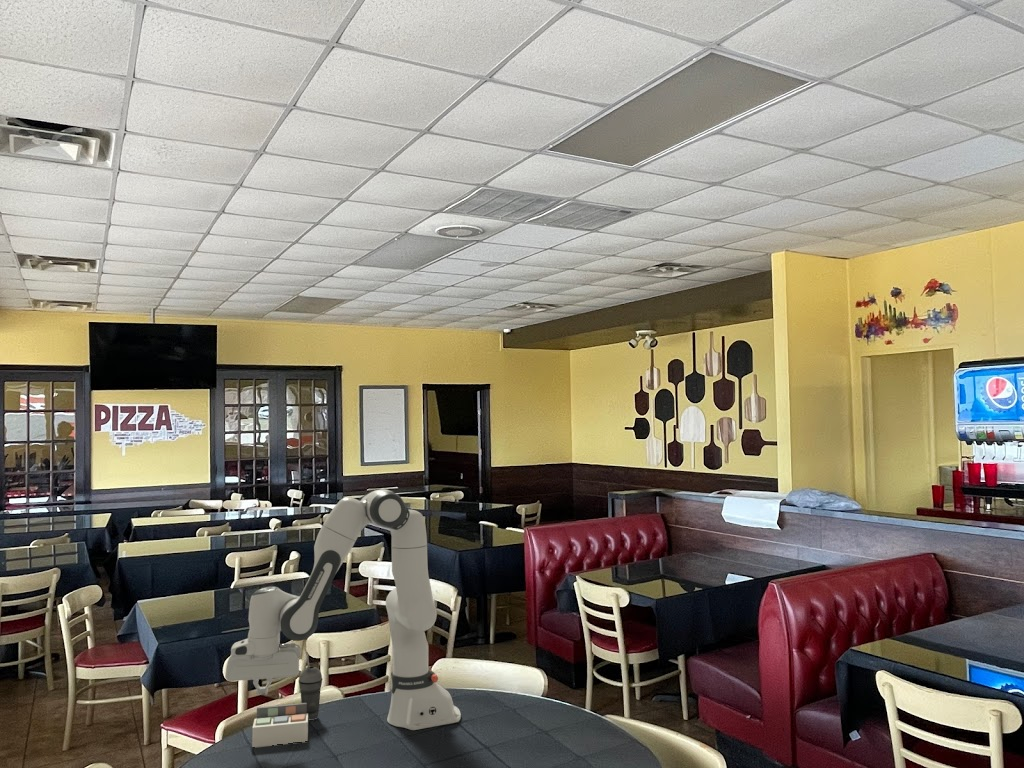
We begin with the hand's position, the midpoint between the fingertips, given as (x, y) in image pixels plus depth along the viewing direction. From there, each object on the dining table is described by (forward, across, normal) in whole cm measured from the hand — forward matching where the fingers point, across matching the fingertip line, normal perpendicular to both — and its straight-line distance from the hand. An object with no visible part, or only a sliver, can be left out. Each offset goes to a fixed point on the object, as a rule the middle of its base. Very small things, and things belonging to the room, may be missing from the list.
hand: (262, 694), depth 218 cm
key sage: (+9, -1, 0) cm, 9 cm away
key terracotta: (+9, -10, 0) cm, 14 cm away
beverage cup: (+13, -14, -15) cm, 24 cm away
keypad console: (+13, -6, -1) cm, 14 cm away
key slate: (+9, -5, 0) cm, 11 cm away
